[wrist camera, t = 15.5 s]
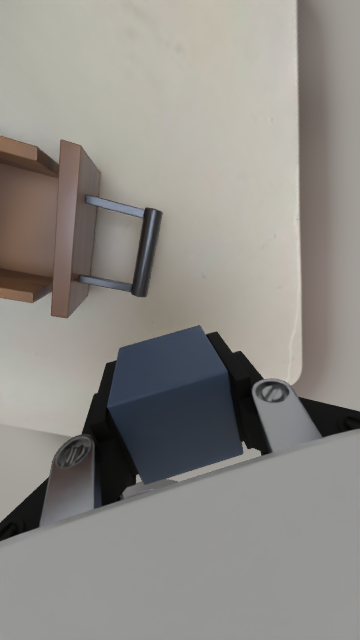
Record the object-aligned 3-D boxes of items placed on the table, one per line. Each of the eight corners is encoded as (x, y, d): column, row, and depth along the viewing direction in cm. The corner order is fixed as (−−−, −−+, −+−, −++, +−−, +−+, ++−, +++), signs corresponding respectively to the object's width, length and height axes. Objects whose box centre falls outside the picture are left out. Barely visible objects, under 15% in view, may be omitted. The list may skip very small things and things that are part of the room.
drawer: (164, 190, 22) (172, 173, 15) (142, 305, 25) (142, 330, 19) (-85, 119, 17) (-213, 55, 11) (-68, 268, 21) (-159, 283, 15)
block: (214, 389, 13) (244, 455, 9) (143, 410, 12) (143, 487, 9) (199, 324, 11) (228, 370, 7) (118, 347, 11) (105, 406, 7)
